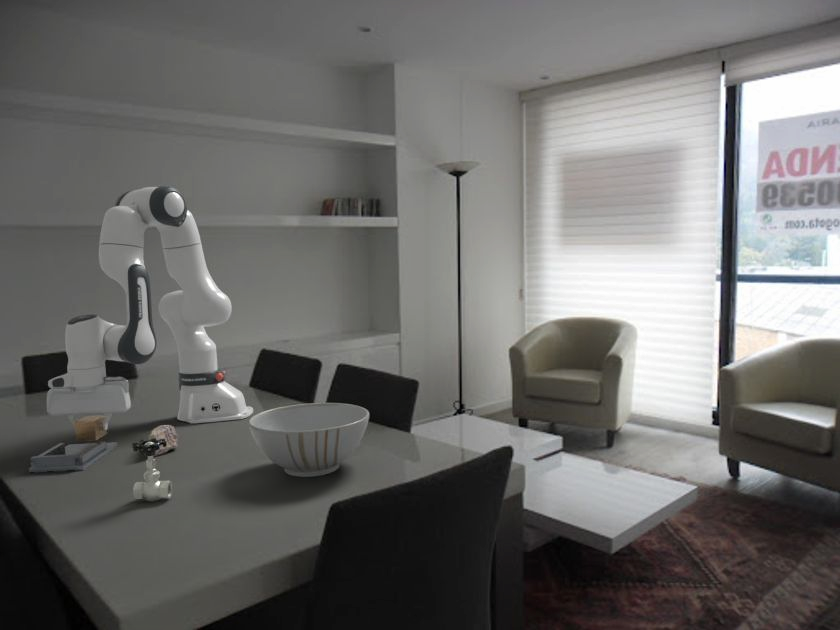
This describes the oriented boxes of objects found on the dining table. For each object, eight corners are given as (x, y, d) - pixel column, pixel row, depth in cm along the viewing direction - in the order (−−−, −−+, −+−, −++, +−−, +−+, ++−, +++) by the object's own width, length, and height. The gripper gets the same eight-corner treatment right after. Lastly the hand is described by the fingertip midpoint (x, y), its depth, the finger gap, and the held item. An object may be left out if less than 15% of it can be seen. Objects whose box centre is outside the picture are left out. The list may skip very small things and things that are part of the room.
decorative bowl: (318, 496, 133) (315, 437, 132) (225, 477, 148) (222, 423, 147) (394, 459, 156) (392, 408, 155) (307, 445, 170) (304, 398, 169)
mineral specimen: (176, 456, 165) (175, 431, 165) (145, 459, 163) (144, 434, 163) (179, 442, 177) (177, 419, 177) (150, 445, 175) (149, 422, 175)
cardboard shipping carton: (107, 433, 179) (105, 415, 178) (95, 440, 172) (94, 421, 171) (88, 434, 178) (86, 415, 178) (76, 441, 171) (74, 422, 171)
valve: (141, 495, 137) (137, 438, 136) (174, 493, 138) (171, 436, 137) (130, 507, 131) (126, 447, 130) (165, 505, 131) (161, 445, 130)
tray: (117, 445, 176) (116, 432, 176) (83, 470, 156) (82, 455, 156) (69, 448, 175) (68, 435, 175) (29, 472, 155) (27, 458, 155)
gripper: (132, 374, 177) (136, 425, 179) (53, 377, 176) (57, 428, 178) (123, 378, 171) (127, 431, 172) (41, 381, 170) (45, 435, 171)
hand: (91, 430), depth 175 cm, fingers closed on cardboard shipping carton, 5 cm apart
